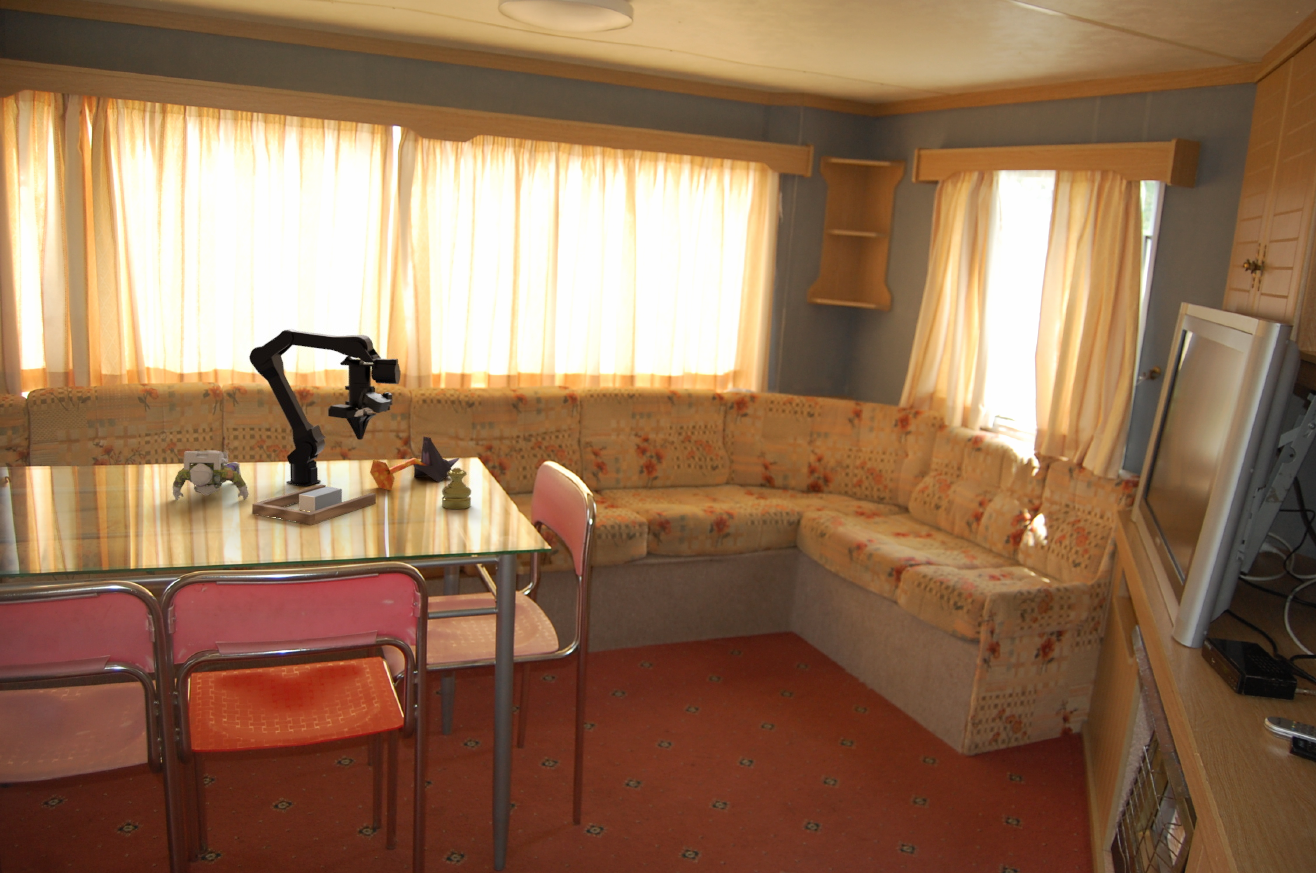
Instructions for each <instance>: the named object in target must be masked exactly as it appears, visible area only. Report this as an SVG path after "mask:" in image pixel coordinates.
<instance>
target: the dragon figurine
mask: <svg viewBox="0 0 1316 873" xmlns="http://www.w3.org/2000/svg"><path fill="white" fill-rule="evenodd" d="M421 447H422V449H421V457H420V460H419V459H418V458H416V457H412V458H410V459H408V460H405V461H403V462H401V463H399V464H396V465H394V466H391V467H389V466H388V464H387V462H385V461H380V460H375V459H374V460H372V464H371V468H370V470H369V473H370V475H371V477H372V479H373V480H374V481H375V483H376V485H377V487H378V488H379V489H380V488H381V489H383V490H388V491H392V490H393V486H394V482H395V476H394V474H396V473H398V472H400V471H402V470H405V469H406V468H407V469H408V468H409V467H412V466H413V471H414V472H413V477H414V478H416V477H418V478H419V477H430V478H432V480H434V481H436V482H437V483H440V482H441V481H443V480H444V479H445V478H448V477H449V478H450V476H448V475H447V472H448V471H450V470H452V467H453V466H454V465H455V464H456V463H457V462H458V461H459V460H460V458H459V457H457V458H454V459H450V460H447V459H446V458H443V457H442V455H441V453H440V452H439V450H438V449H437V447H436V446H435V444H434V443H433V440H432V438H431V437H427V436H423V438H422V446H421Z"/></svg>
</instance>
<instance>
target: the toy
mask: <svg viewBox="0 0 1316 873" xmlns="http://www.w3.org/2000/svg"><path fill="white" fill-rule="evenodd" d="M183 453H184V454H183V455H184V456H183V468H181V469H180V470H178V471H177V474H176V475H175V477H174V481H173V484H172V492H171V494H172V495H173V498H174V499H175V500H176V501H178V500H179V499H181V498H180V496H181V497H182V498H183V497H184V495H183V493H182V488H183V487H184V485H185V483H186V482H187V481H188V482H190V483H192V484H193V485H194V487H193V490H194V491H195V493H198V494H202V495H203V496H210V495H211V494H214V493H216V492H217V491H220V490H219V489H220V488H221V487H222V485H223V484H225V483H226V482H228V481H229V482H231V483H233V484H234V485H235V487H236V488H237V489H238V491H239V493H238V494H237V496H238V498H240V497H241V496H242V499H243V501H246V500H247V499H248V497H249V495H250V493H249V490H248V486H247V483H246V482H245V480H244V479H243V477H242V474H241V468H240V463H239V462H237V461H231V462H229V456H228V455H229V452H228V451H227V452H226V451H225V452H223V451H219V450H215V449H214V450H193V451H192V450H191V451H190V450H186V451H184V452H183ZM228 462H229V463H228Z"/></svg>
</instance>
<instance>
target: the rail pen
mask: <svg viewBox="0 0 1316 873" xmlns="http://www.w3.org/2000/svg"><path fill="white" fill-rule="evenodd" d="M324 487H327V485H326V484H317V485H315V486H310V487H307V488H304V489H300V490H297V491H292V492H289V493H286V494H283V495H279V496H275V497H272V498H269V499H264V500H262V501H258V502H253V503H252V504H251V505H252V506H251V508H252V509H251V510H252V511H251V513H252V515H255V514H258V515H257V516H260V515H263V516H262V517H265V516H269V517H268V518H271V517H276V518H281V519H283V520H282V521H286V520H290V521H289V522H291V521H296V522H295V523H297V522H298V523H299V524H302V523H304V524H303V525H307V524H310V525H309V526H312V524H313V525H315V523H316V524H318V523H321V522H320V521H322V522H325V521H328V520H330V519H333V518H336V517H339V516H341V515H345V514H348V513H352V512H353V511H357V510H359V509H363V508H366V507H369V506H372V505H375V504H376V503H377V494H376V493H374V492H373V493H372V492H370V493H367V494H364V495H360V496H358V497H354V498H351V499H348V500H346V501H342V502H341V503H338V504H335V505H332V506H329V507H325V508H322V509H319V510H316V511H313V512H306V511H300V510H298V509H293V508H288V505H289V506H291V505H290V504H292V505H294V504H293V503H295V504H297V503H296V502H299V495H300V494H303V493H306V492H310V491H313V490H317V489H320V488H324ZM284 506H285V507H284ZM276 518H275V519H276ZM329 518H330V519H329ZM281 519H280V520H281ZM327 519H328V520H327ZM324 520H325V521H324ZM298 523H297V524H298Z"/></svg>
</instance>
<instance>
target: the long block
mask: <svg viewBox="0 0 1316 873" xmlns="http://www.w3.org/2000/svg"><path fill="white" fill-rule="evenodd" d="M342 490H343V489H342V488H338V487H332V486H328V485H326V487H324V488H320V489H317V490H313V491H310V492H306V493H303V494H300V495H299V503H298V508H299V510H305V512H306V511H310V512H313V511H316V510H319V509H322V508H325V507H329V506H332V505H335V504H338V503H341V502H343V499H342V498H343V496H342V495H343V493H342V492H343V491H342Z"/></svg>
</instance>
